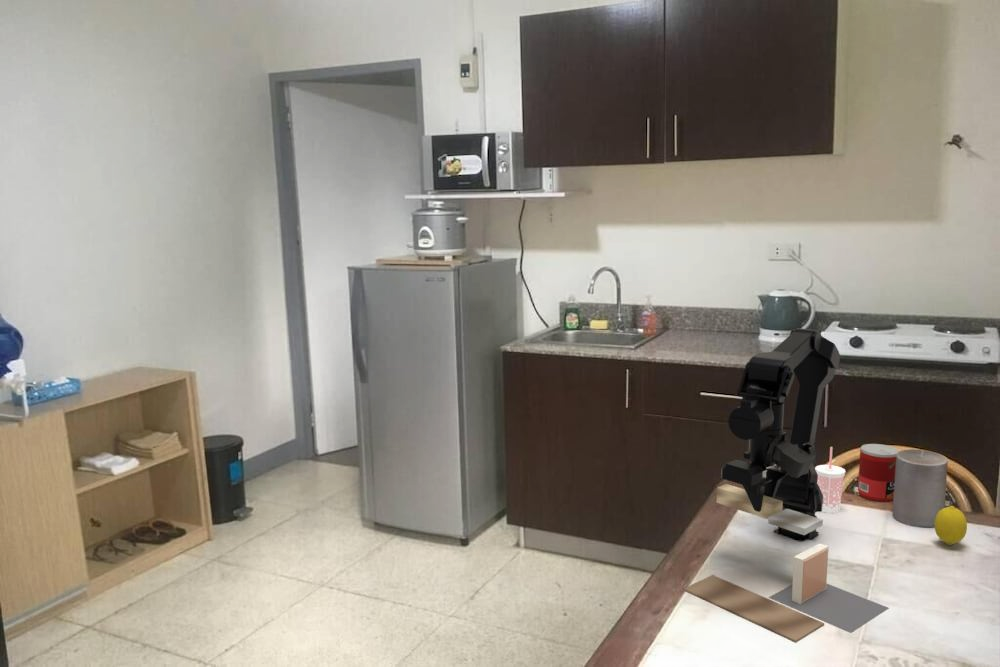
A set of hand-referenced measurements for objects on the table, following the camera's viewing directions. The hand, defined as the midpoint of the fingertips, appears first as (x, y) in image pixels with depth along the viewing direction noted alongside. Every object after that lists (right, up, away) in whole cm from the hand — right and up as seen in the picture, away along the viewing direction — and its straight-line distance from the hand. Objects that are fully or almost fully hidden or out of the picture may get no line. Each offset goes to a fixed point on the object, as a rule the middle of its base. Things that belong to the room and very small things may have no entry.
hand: (762, 508), depth 154 cm
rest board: (-6, -14, -12) cm, 20 cm away
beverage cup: (+23, -6, +29) cm, 38 cm away
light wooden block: (0, -1, 0) cm, 1 cm away
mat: (+7, -14, -11) cm, 20 cm away
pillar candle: (+40, -7, +23) cm, 46 cm away
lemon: (+40, -9, +10) cm, 42 cm away
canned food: (+37, -5, +36) cm, 52 cm away
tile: (+5, -13, -9) cm, 17 cm away
